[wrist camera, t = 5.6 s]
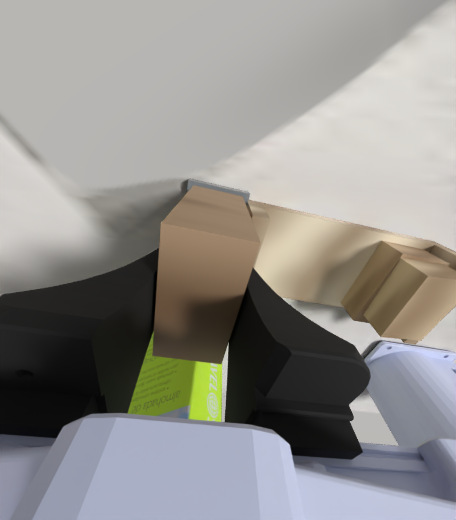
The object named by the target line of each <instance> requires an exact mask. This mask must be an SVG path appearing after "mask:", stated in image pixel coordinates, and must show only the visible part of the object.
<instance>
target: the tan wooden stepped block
mask: <svg viewBox="0 0 456 520" xmlns="http://www.w3.org/2000/svg"><path fill="white" fill-rule="evenodd" d="M247 209H248V211H249V214H250V217H251V219H252V222H253V224H254V227H255V229H256V232H257V234H258V237H259V240H260V242H261V244H260V247H259V250H258V253H257V256H256V259H255V262H254V265H253V268H254V269H255V270H256V271H257V273H258V274H259V275H260V276H261V277H262V279H263V280H264V281H265V282H266V283H267V284H268V285H269V286H270V287H271V288H272V290H273V291H274V292H275V293H277V294H278V295H279V296H280V297H283V298H289V299H294V300H300V301H306V302H312V303H318V304H324V305H330V306H335V307H341V308H344V307H343V305H342V304H341V301H342V300H343V298H344V297H345V295H346V294H347V292H348V291H349V289H350V288H351V286H352V285H353V283H354V282H355V280H356V278H357V277H358V275H359V274H360V272H361V271H362V269H363V268H364V266H365V265H366V263H367V262H368V260H369V259H370V257H371V256H372V254H373V253H374V251H375V250H376V248H377V247H378V245H379V244H380V242H381V241H387V242H391V243H396V244H401V245H405V246H410V247H414V248H419V249H423V250H426V251H428V252H429V253H431V254H433V255H435V256H437V257H439V258H440V259H442V260H444V261H446V262H448V263H450V265H449V266H448V267H450V268H452V269H453V270H455V271H456V252H455V251H453V250H451V249H449V248H446V247H444V246H442V245H440V244H438V243H436V242H433V241H429V240H424V239H420V238H416V237H411V236H407V235H402V234H398V233H393V232H389V231H385V230H380V229H376V228H371V227H367V226H362V225H358V224H354V223H349V222H345V221H340V220H336V219H331V218H327V217H322V216H318V215H314V214H309V213H305V212H300V211H296V210H291V209H287V208H283V207H278V206H274V205H269V204H265V203H260V202H256V201H252V200H248V203H247ZM455 306H456V305H455ZM455 306H454V307H455ZM454 307H453V308H454ZM453 308H452V309H453ZM452 309H451V310H452ZM451 310H450V311H451ZM450 311H449V312H450ZM449 312H448V313H449ZM448 313H447V314H448ZM447 314H446V315H447ZM446 315H445V316H446ZM445 316H444V317H445ZM444 317H443V318H444ZM443 318H442V319H443ZM442 319H441V320H442ZM401 340H402V341H403V342H404V343H410V344H416V343H417V342H418V340H408V339H401Z"/></svg>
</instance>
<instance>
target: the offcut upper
mask: <svg viewBox="0 0 456 520" xmlns="http://www.w3.org/2000/svg"><path fill="white" fill-rule="evenodd" d="M455 305H456V271H455V270H453V269H452V268H450V267H448V266H446V265H445V264H440V263H433V262H425V261H418V260H410V259H403V258H401V259H400V260H399V262H398V263H397V265H396V266H395V268H394V269H393V271H392V272H391V274H390V275H389V277H388V278H387V280H386V281H385V283H384V284H383V286H382V287H381V289H380V290H379V292H378V293H377V295H376V296H375V298H374V299H373V301H372V302H371V304H370V305H369V307H368V308H367V310H366V311H365V313H364V314H363V315H364V317H365V318H366V319H367V320H368V322H369V323H370V324H371V325H372V327H373V328H374V329H375V330H376V332H377V333H378V334H379V335H380V337H388V338H398V339H408V340H418V341H421V340H422V339H423V338H424V337H425V336H426V335H427V334H428V333H429V332H430V331H431V330H432V329H433V328H434V327H435V326H436V325H437V324H438V323H439V322H440V321H441V319H442V318H443V317H444V316H445V315H446V314H447V313H448V312H449V311H450V310H451V309H452V308H453V307H454V306H455Z"/></svg>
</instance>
